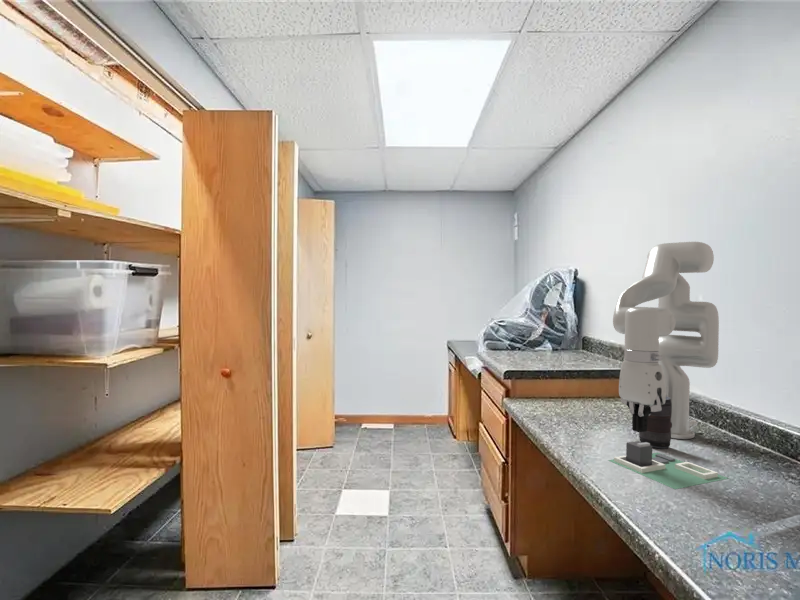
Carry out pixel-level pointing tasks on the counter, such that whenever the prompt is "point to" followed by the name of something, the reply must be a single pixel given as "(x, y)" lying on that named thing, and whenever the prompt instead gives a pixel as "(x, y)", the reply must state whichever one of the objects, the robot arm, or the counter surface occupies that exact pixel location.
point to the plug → (639, 453)
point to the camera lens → (659, 427)
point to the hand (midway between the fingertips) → (639, 430)
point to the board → (671, 471)
